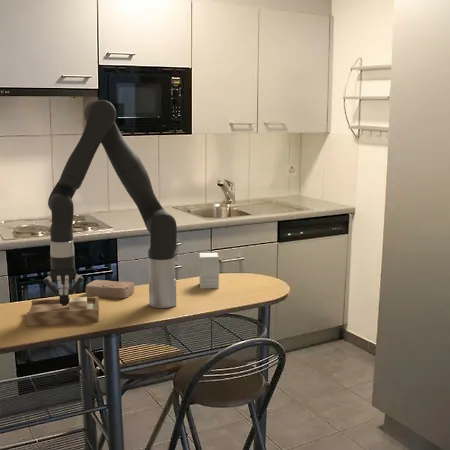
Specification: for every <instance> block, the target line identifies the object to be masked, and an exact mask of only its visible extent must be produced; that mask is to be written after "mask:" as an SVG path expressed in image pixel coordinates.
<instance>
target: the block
mask: <svg viewBox="0 0 450 450" xmlns="http://www.w3.org/2000/svg"><path fill="white" fill-rule="evenodd" d="M87 297H88V296H82V297H81V296H80V297H79V296H77V297H69V298H70V301H69V308H70V310H78V309H87Z"/></svg>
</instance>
